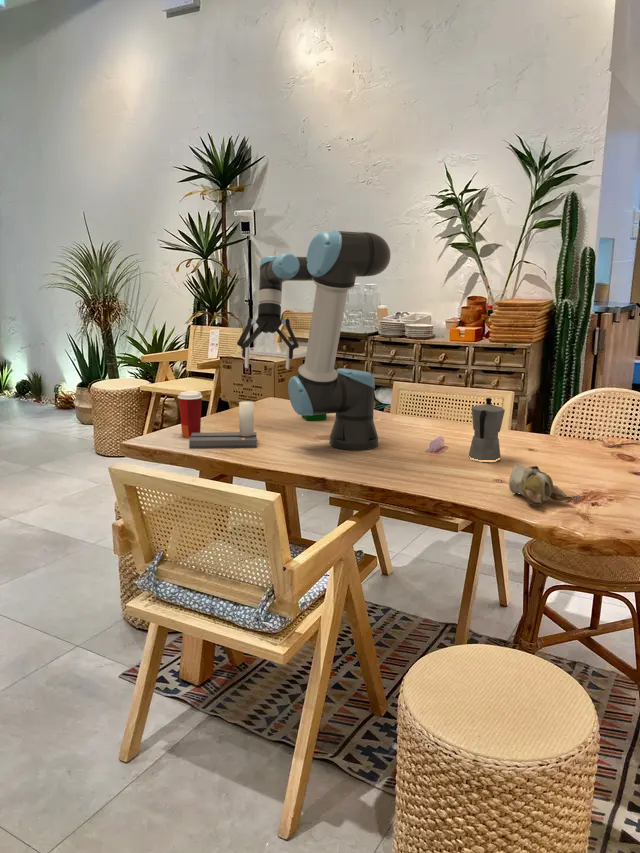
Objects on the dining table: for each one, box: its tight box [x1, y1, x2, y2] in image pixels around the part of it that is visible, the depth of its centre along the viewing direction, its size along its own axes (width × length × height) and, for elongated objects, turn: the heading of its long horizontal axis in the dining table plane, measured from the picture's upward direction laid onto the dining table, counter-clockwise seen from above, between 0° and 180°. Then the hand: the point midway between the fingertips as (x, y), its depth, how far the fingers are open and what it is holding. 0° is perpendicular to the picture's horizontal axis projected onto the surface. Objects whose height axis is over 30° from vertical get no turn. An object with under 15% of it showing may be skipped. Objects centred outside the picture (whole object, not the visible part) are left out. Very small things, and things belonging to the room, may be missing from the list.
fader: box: [238, 400, 255, 437], centre depth 207 cm, size 4×4×12 cm
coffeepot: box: [468, 397, 506, 460], centre depth 193 cm, size 15×9×18 cm, turn 156°
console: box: [188, 431, 258, 449], centre depth 208 cm, size 20×10×3 cm, turn 96°
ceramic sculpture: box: [508, 462, 573, 506], centre depth 161 cm, size 11×9×15 cm
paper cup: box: [177, 390, 203, 439], centre depth 215 cm, size 8×8×14 cm
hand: (266, 368), depth 222 cm, fingers open, 13 cm apart
